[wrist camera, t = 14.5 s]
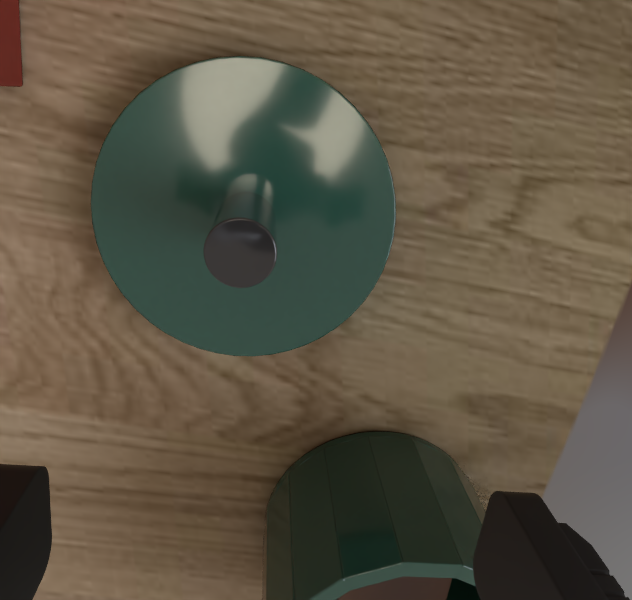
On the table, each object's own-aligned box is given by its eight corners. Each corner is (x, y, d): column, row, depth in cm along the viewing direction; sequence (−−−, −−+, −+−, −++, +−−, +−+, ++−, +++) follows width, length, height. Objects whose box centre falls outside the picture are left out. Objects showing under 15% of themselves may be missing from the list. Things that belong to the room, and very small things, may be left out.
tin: (494, 438, 29) (578, 569, 21) (448, 602, 33) (505, 764, 25) (276, 423, 28) (278, 556, 20) (255, 595, 32) (250, 765, 24)
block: (426, 492, 29) (455, 568, 25) (408, 565, 31) (433, 649, 26) (332, 486, 29) (344, 564, 24) (320, 561, 30) (328, 647, 26)
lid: (415, 80, 23) (464, 77, 17) (366, 355, 27) (392, 429, 21) (98, 35, 21) (32, 14, 15) (99, 333, 25) (48, 405, 20)
